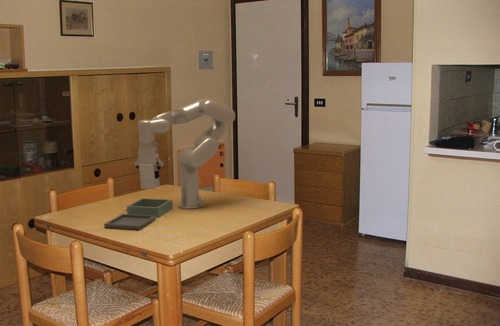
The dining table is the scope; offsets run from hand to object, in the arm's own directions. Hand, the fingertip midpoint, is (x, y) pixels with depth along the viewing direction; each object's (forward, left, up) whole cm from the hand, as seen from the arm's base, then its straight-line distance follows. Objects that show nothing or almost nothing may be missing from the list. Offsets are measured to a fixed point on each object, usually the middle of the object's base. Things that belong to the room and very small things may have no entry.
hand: (149, 177), depth 295 cm
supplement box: (0, 0, -5) cm, 5 cm away
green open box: (0, 0, -18) cm, 18 cm away
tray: (0, +22, -18) cm, 29 cm away
